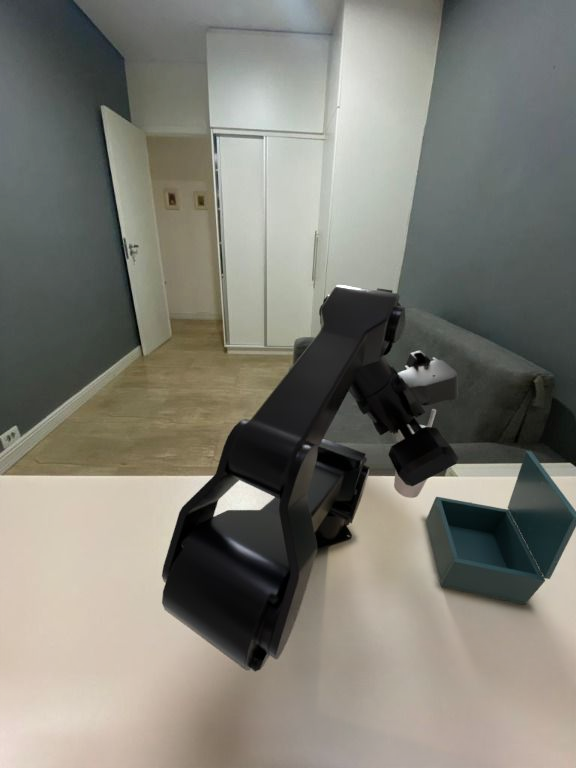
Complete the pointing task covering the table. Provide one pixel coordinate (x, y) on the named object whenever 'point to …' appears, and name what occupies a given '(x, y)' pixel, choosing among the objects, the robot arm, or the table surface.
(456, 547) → the box
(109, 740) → the table surface
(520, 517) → the box lid
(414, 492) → the smoothie
